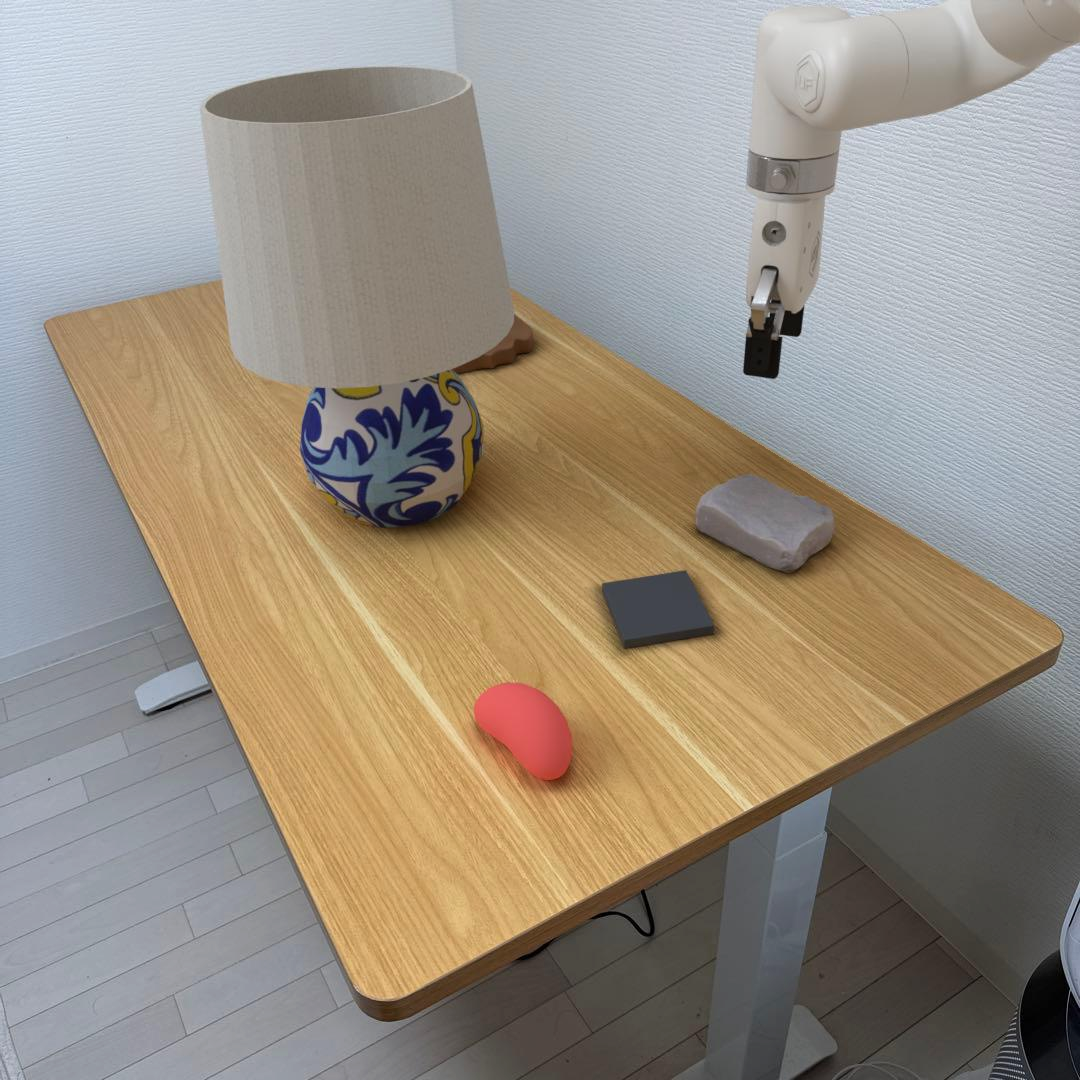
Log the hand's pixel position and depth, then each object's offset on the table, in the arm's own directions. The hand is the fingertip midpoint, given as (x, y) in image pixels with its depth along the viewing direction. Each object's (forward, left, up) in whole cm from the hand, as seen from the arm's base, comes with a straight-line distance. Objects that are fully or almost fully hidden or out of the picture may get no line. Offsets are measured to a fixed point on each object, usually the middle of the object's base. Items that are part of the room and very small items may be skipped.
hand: (772, 354), depth 93 cm
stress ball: (+30, +30, -15) cm, 45 cm away
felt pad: (+16, +17, -15) cm, 28 cm away
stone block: (+2, +8, -15) cm, 18 cm away
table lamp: (+37, -9, -15) cm, 41 cm away
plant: (+27, -45, -15) cm, 55 cm away
